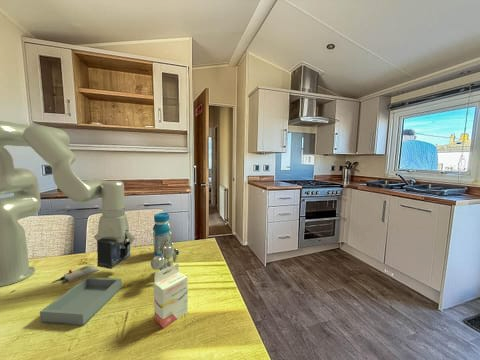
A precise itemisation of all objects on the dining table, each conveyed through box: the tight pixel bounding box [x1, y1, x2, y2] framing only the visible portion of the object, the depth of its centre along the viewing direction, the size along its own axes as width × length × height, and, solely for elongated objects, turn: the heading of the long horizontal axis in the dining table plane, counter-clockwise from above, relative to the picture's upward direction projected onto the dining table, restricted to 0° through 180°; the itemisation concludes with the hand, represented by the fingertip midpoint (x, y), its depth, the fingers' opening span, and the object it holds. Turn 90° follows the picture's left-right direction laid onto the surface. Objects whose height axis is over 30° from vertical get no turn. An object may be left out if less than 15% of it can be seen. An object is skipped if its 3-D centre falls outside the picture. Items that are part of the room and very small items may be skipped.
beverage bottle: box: [152, 212, 172, 257], centre depth 100 cm, size 8×8×20 cm
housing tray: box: [39, 276, 123, 327], centre depth 67 cm, size 13×17×4 cm
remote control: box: [51, 264, 100, 284], centre depth 83 cm, size 7×16×3 cm, turn 148°
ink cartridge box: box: [153, 262, 189, 329], centre depth 62 cm, size 9×5×15 cm, turn 141°
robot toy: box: [150, 238, 180, 275], centre depth 81 cm, size 15×6×15 cm, turn 165°
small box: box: [96, 239, 131, 269], centre depth 82 cm, size 11×6×10 cm, turn 169°
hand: (114, 255), depth 82 cm, fingers closed on small box, 6 cm apart
